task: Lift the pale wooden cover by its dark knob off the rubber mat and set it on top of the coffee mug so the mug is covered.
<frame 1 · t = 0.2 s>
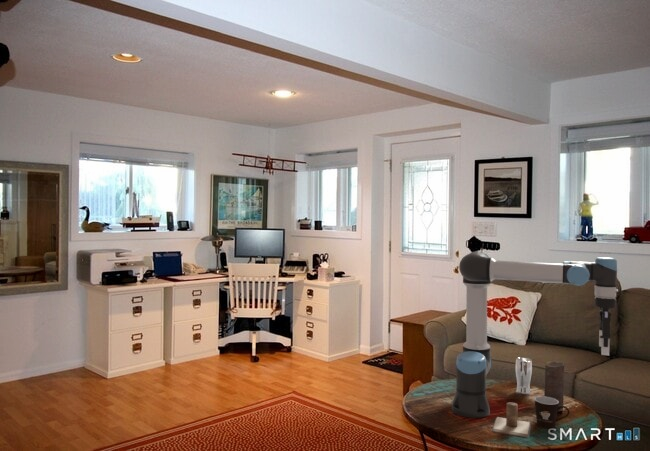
hand: (603, 350, 207), 28 cm above the table, tool pointing down, fingers open, 13 cm apart
coffee mug: (549, 427, 201), on the table
cover: (511, 427, 199), resting on mat
mat: (511, 429, 199), on the table
dark brown log: (553, 411, 218), on the table
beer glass: (523, 392, 240), on the table
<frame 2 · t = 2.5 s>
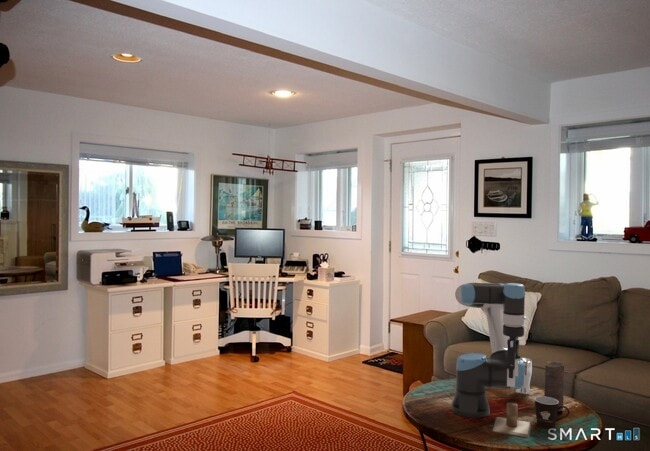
hand: (512, 381, 199), 18 cm above the table, tool pointing down, fingers open, 13 cm apart
nothing on the table moved.
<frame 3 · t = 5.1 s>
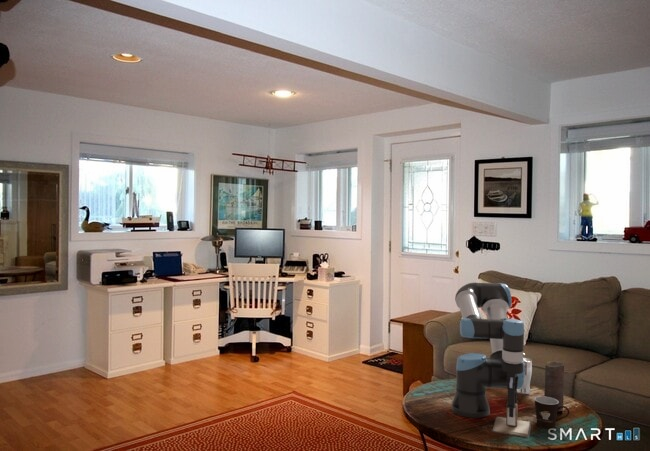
hand: (511, 422, 199), 3 cm above the table, tool pointing down, fingers closed on cover, 4 cm apart
cover: (511, 427, 199), point 1 cm above the table, touching gripper
everything else where it was.
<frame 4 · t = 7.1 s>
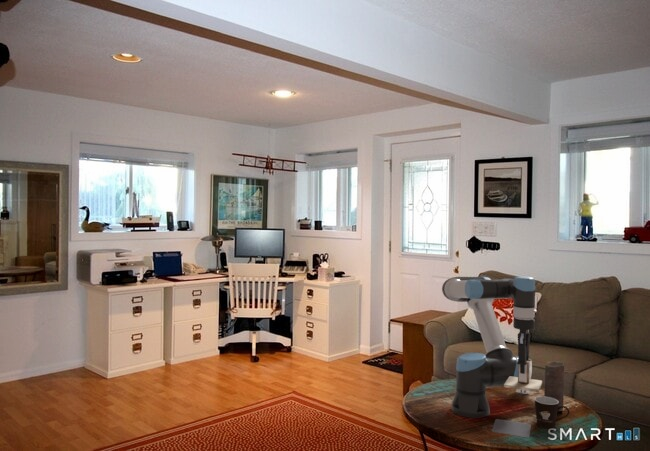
hand: (523, 379, 199), 19 cm above the table, tool pointing down, fingers closed on cover, 4 cm apart
cover: (523, 385, 199), point 17 cm above the table, touching gripper
everything else where it was.
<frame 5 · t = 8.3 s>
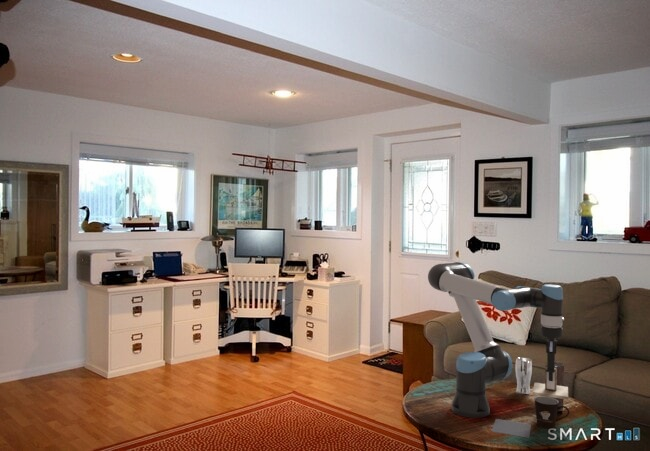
hand: (550, 386, 201), 16 cm above the table, tool pointing down, fingers closed on cover, 4 cm apart
cover: (550, 392, 201), point 14 cm above the table, touching gripper
everything else where it was.
when the fingers open (14 cm above the table, at t = 9.2 s): cover drops 3 cm, resting on coffee mug.
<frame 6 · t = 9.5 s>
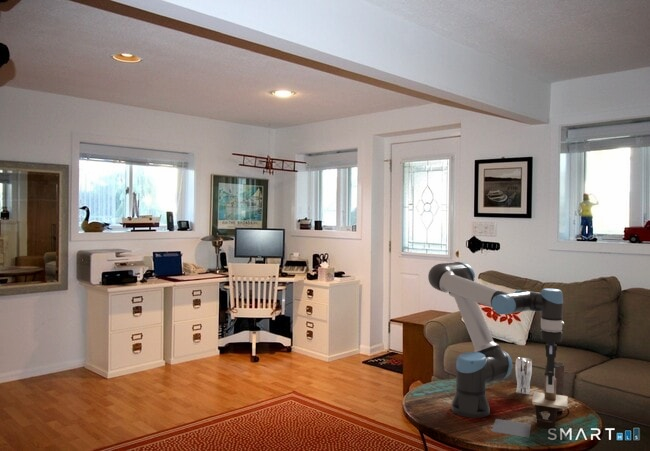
hand: (550, 388, 201), 15 cm above the table, tool pointing down, fingers open, 9 cm apart
coffee mug: (549, 427, 201), on the table, touching cover
cover: (550, 401, 201), point 10 cm above the table, touching coffee mug
everything else where it was.
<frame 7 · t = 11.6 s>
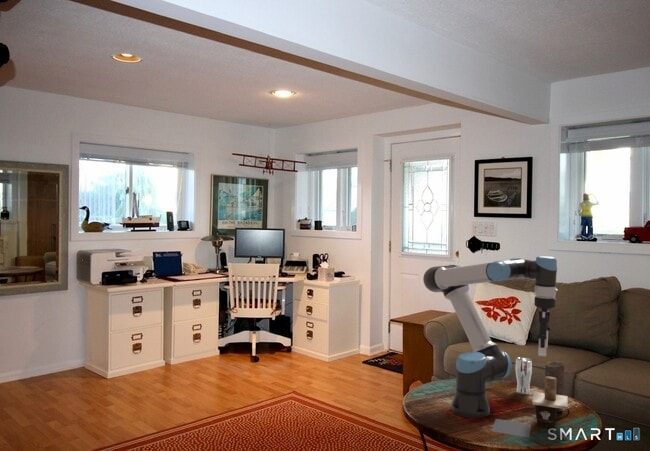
hand: (543, 351, 204), 28 cm above the table, tool pointing down, fingers open, 13 cm apart
nothing on the table moved.
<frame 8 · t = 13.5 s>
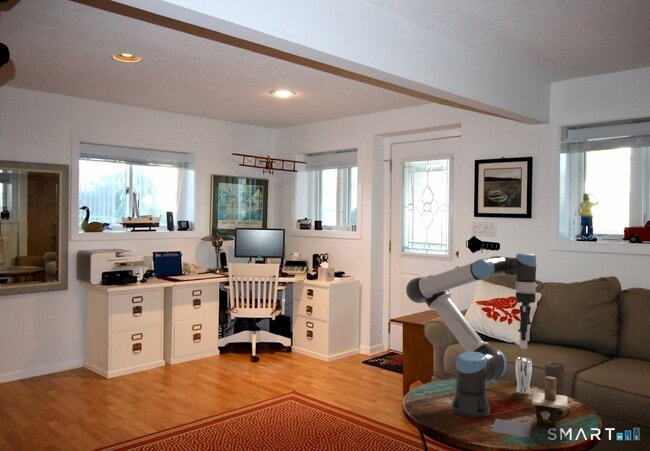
hand: (524, 344, 213), 29 cm above the table, tool pointing down, fingers open, 13 cm apart
nothing on the table moved.
at the end: cover 0.1 cm from the coffee mug (horizontally); cover point 10.0 cm above the table; cover tilted 0° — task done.
